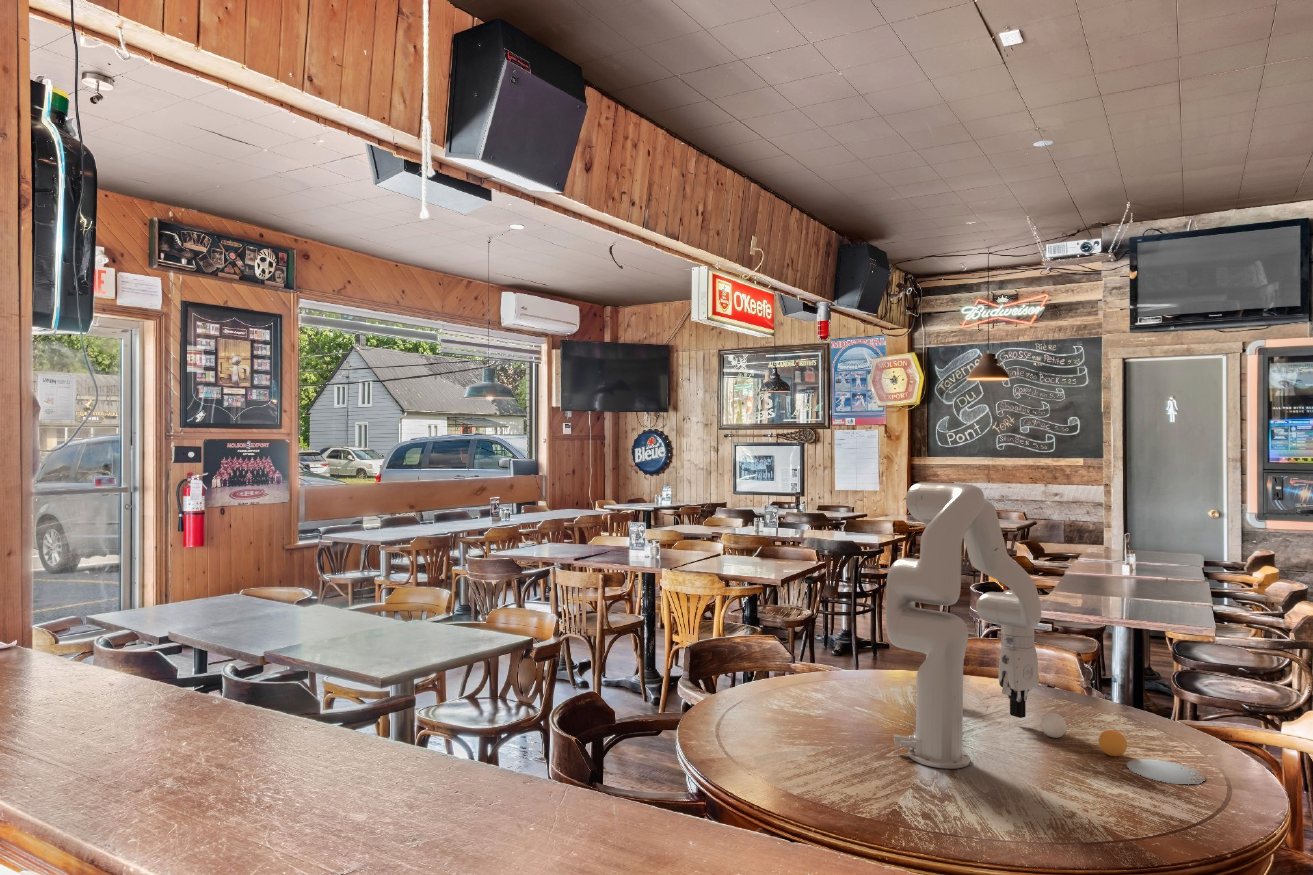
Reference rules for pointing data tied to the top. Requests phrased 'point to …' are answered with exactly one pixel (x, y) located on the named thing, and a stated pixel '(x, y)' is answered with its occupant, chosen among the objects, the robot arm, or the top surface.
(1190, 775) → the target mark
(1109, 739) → the orange ball
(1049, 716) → the cue ball
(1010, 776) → the top surface
